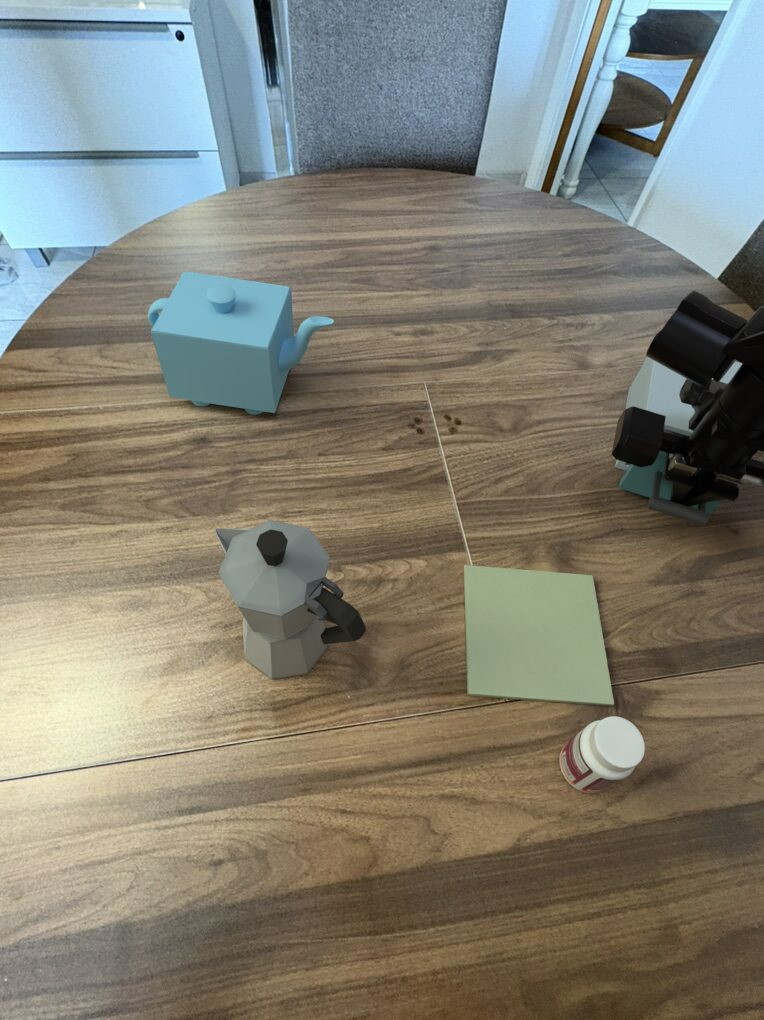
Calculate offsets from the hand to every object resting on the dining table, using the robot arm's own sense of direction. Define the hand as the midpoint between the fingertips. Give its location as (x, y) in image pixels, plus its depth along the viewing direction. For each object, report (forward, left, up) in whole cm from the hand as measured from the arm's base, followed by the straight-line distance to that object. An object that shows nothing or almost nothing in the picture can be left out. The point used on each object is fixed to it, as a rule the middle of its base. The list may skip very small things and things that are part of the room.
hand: (672, 506), depth 69 cm
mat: (+11, +19, -4) cm, 22 cm away
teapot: (+53, -1, -4) cm, 53 cm away
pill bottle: (+4, +30, -4) cm, 31 cm away
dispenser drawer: (0, -7, -3) cm, 7 cm away
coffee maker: (+33, +29, -4) cm, 44 cm away
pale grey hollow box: (0, -14, -4) cm, 14 cm away
